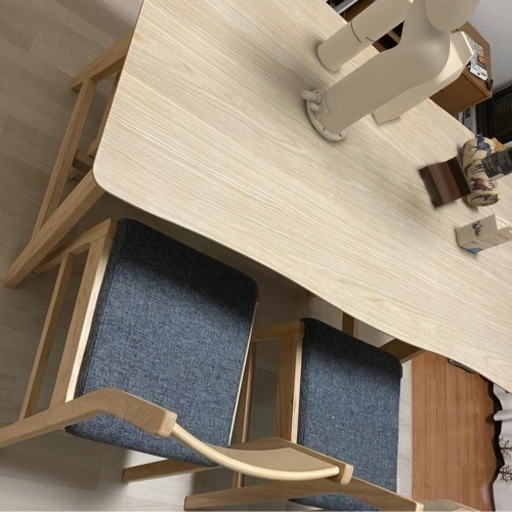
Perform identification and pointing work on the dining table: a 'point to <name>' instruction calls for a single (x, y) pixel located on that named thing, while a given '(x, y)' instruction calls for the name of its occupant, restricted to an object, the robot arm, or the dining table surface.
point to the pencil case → (479, 171)
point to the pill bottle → (497, 164)
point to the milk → (418, 94)
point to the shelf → (447, 181)
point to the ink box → (484, 233)
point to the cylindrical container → (362, 32)
